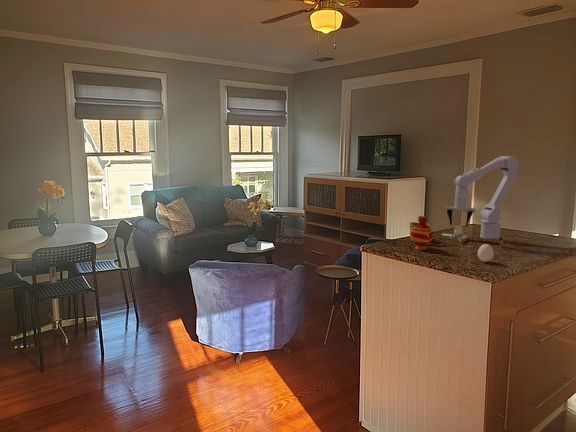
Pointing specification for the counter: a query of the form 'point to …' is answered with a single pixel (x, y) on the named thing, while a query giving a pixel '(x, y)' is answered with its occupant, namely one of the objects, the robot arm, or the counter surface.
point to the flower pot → (413, 224)
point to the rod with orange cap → (462, 237)
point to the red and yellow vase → (421, 233)
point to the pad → (446, 234)
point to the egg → (485, 253)
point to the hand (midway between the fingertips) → (458, 225)
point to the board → (456, 238)
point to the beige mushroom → (457, 232)
